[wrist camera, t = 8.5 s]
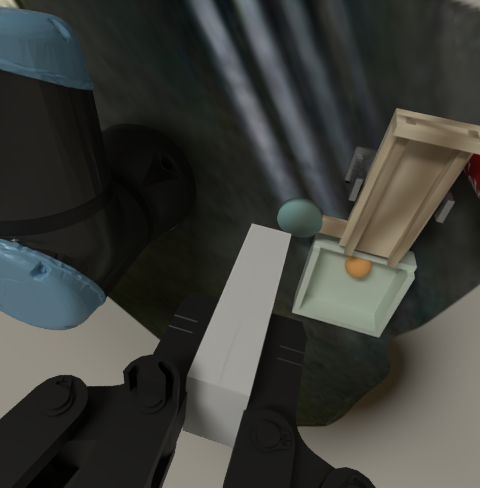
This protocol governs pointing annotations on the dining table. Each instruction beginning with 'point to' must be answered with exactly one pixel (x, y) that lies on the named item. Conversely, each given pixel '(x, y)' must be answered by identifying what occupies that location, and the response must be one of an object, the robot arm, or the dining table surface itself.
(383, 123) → the dining table surface
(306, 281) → the tray
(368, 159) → the stand
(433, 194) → the lever
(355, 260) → the ball
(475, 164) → the soda can
